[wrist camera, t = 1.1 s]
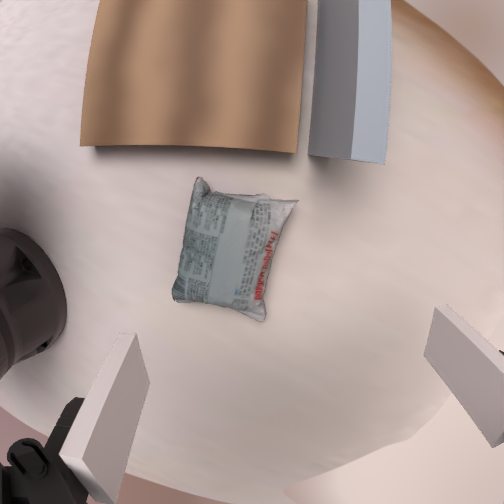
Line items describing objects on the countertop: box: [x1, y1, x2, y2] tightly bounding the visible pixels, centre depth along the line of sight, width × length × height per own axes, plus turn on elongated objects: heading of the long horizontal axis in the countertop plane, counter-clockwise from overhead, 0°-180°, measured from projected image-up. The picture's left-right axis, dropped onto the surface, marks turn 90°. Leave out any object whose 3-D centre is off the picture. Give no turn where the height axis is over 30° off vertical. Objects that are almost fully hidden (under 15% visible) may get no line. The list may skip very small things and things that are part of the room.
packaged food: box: [172, 177, 299, 322], centre depth 28 cm, size 9×12×5 cm
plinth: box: [80, 0, 307, 153], centre depth 23 cm, size 18×16×3 cm
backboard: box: [308, 0, 392, 165], centre depth 19 cm, size 2×16×12 cm, turn 175°
